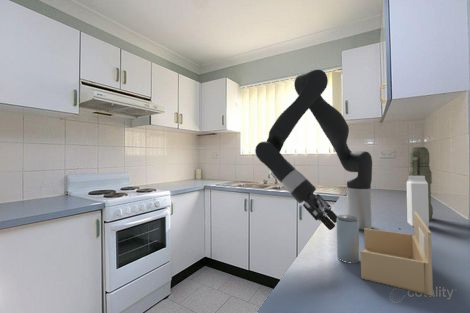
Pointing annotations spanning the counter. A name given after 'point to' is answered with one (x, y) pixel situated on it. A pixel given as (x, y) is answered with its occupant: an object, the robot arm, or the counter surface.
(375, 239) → the mailer
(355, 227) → the canister
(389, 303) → the counter surface
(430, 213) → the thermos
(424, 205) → the milk
